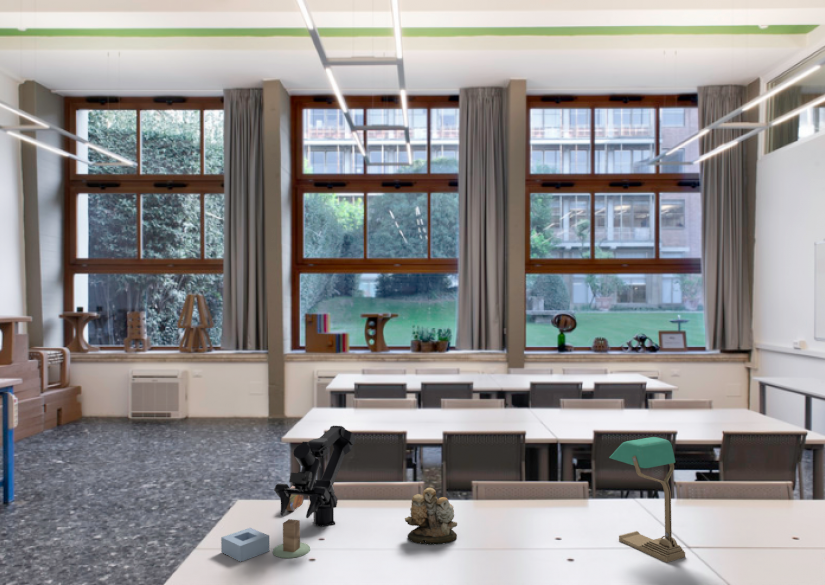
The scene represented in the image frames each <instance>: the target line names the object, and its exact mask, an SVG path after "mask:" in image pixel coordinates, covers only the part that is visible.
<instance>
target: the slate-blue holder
mask: <svg viewBox="0 0 825 585" xmlns="http://www.w3.org/2000/svg"><path fill="white" fill-rule="evenodd" d="M220 541H221V542H220V543H221V544H220V545H221V546H220V548H221V550H220V551H221V552H222V554H223V553H224V554H223V555H225V554H226V555H225V556H227V555H229V556H231V557H233V558H234V559H233V558H232V559H233V560H235V559H236V560H235V561H237V560H238V561H237V562H239V561H240V563H241V561H242V562H244V561H247V560H249V559H251V558H254V557H257V556H260V555H262V554H265V553H267V552H270V535H269V534H267V533H264V532H262V531H259V530H257V529H254V528H252V527H249V528H248V527H247V528H244V529H242V530H239V531H236V532H233V533H230V534H227V535H224V536H221V538H220ZM221 552H220V553H221ZM229 556H228V557H229ZM231 557H230V558H231Z"/></svg>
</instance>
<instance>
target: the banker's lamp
mask: <svg viewBox="0 0 825 585" xmlns="http://www.w3.org/2000/svg"><path fill="white" fill-rule="evenodd" d="M609 459H612V460H615V461H618V462H622V463H625V464H628V465H631V466H634V468H635V469H634V470H635V472H636V475H638V476H639V477H641V478H644V479H647V480H651V481H654V482H658V483H660V484H661V485H662V488H663V493H664V535H663V536H661V537H659V538H653V539H652V538H650V537H648V536H645V535H644V534H641V533H640V531H638V530H634V531H632V532H628V533H624V534H620V535H618V541H619V542H620V543H623V544H625V545H627V546H629V547H631V548H634V549H636V550H639V551H641V552H643V553H645V554H647V555H649V556H652V557H654V558H656V559H658V560H660V561H662V562H664V563H670V562H672V561H677V560H679V559H684V558H686V551H685V550H684V548H682V546H681V545H680V544H678V543H677V540H676V539H675V538H674V537H673V535H672V534H673V533H672V531H673V530H672V493H671V488H670V484H669V479H670V478H671V476H672V473H673V472H674V470H675V465H674V464H675V463H676V458H675V453H674V450H673V446H672V442H670V441H669V440H668V439H665V438H661V437H658V436H657V437H656V436H651V437H646V438H639V439H632V440H627V441H624V442H622V443H621V444H620V445H619V446H618V447H617V448H616V449H615V450H614V452H613V453H612V454H611V455H610V456H609ZM664 465H665V466H666V465H669V471H668V472H667V474H666V476H665V477H664V479H663V480H661V479H658V478H655V477H652V476H650V475H647V474H644V473H642V472H641V469H650V468H655V467H660V466H664ZM638 476H637V477H638Z"/></svg>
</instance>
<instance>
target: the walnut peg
mask: <svg viewBox="0 0 825 585" xmlns="http://www.w3.org/2000/svg"><path fill="white" fill-rule="evenodd" d="M300 522H301V521H300V519H291V518H289V519H287V520H285V521H284V522H283V523H282V544H283V551H287V552H295V551H296V550H298V549H299V548H300V542H301V523H300Z"/></svg>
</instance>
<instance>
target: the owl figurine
mask: <svg viewBox="0 0 825 585" xmlns="http://www.w3.org/2000/svg"><path fill="white" fill-rule="evenodd" d="M436 491H437V490H435V489H434V488H433V487H426V488H425V489H424V490H423V492H422V494H420V493H417V494H415V495H413V496H412V498H411V507H410V516H409V515H408V516H407V517H405V518H404V520H405V523H407V525H409V526H410V527H411V526H412V527H415V528H413V529H412V530H411V531H410V532H408V533H407V538H408V540H409V541H410V542H412V543H414V544H418V545H419V544H421V545H423V544H425V545H427V544H428V545H429V546H433V545H434V544H436V545H443V543H445V544H448V543H452V542H453V541H456V540H457V538H458V534H457V533H456V532H455V531H454V530H453V529H454V528H456V527H457V526H458V522H457V521H453V520H454V518H455V514H454V513H455V510H454V505H452V504H451V503H450V502H449V499H448V498H447V497H445V496H443V497H439V498H438V497H437V493H436Z"/></svg>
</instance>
